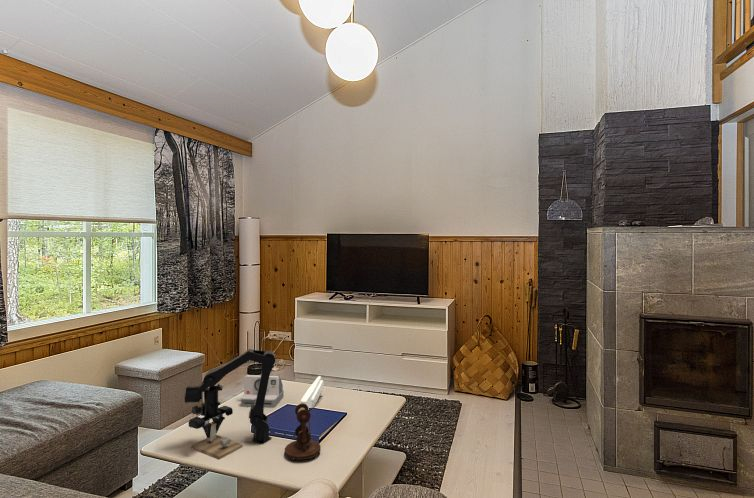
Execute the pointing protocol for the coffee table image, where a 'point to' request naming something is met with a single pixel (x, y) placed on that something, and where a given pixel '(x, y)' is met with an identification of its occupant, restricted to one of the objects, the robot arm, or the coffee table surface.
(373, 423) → the coffee table surface
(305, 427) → the brown wooden tall piece
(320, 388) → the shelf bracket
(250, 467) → the coffee table surface
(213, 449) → the hole plate
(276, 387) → the instant camera
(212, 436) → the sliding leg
